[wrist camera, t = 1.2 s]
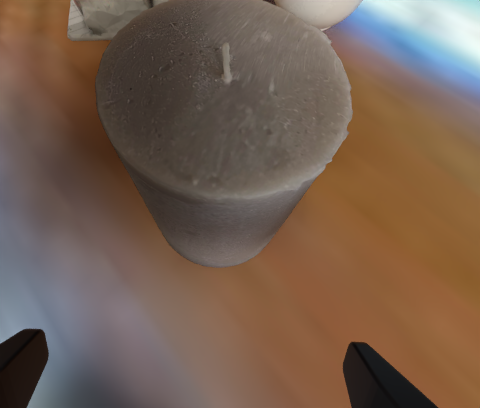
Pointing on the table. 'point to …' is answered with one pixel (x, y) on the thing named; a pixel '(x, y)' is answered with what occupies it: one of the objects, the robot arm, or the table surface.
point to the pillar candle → (222, 119)
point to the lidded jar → (320, 11)
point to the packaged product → (103, 17)
